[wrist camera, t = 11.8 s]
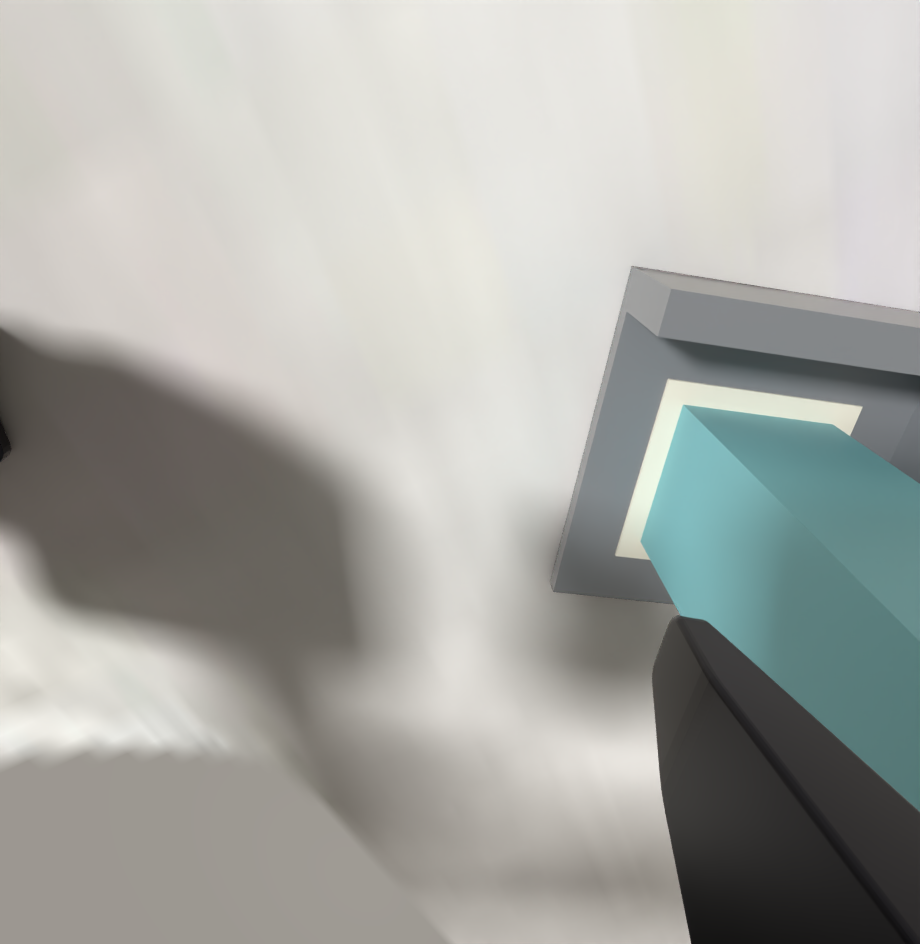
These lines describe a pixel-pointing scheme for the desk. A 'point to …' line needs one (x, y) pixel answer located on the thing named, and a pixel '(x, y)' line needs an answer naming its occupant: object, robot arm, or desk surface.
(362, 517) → the desk surface
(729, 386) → the tray
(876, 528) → the block
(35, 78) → the desk surface
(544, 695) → the desk surface
